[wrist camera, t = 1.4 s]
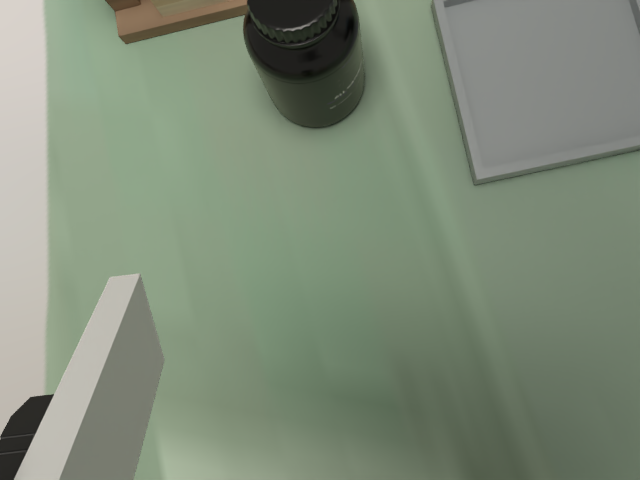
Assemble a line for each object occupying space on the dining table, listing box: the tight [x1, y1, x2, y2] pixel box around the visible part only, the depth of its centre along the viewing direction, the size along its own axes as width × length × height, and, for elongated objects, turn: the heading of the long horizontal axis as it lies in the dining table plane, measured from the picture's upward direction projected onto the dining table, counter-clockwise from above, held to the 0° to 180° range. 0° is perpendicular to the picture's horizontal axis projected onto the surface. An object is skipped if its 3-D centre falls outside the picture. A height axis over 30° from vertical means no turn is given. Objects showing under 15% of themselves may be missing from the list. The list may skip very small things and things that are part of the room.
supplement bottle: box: [243, 0, 365, 127], centre depth 38 cm, size 7×7×12 cm
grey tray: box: [431, 0, 640, 185], centre depth 41 cm, size 13×13×2 cm
